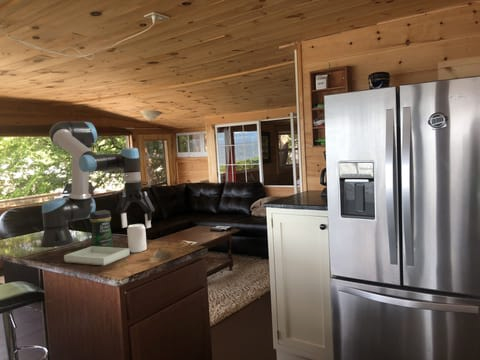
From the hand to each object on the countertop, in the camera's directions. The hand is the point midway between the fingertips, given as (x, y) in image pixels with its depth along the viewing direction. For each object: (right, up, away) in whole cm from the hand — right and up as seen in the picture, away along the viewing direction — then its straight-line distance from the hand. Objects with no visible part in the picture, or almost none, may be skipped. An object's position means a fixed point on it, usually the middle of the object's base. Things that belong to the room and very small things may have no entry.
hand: (136, 227), depth 180 cm
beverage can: (0, -11, +1) cm, 11 cm away
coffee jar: (-19, -12, +11) cm, 25 cm away
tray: (-15, -13, -9) cm, 21 cm away
